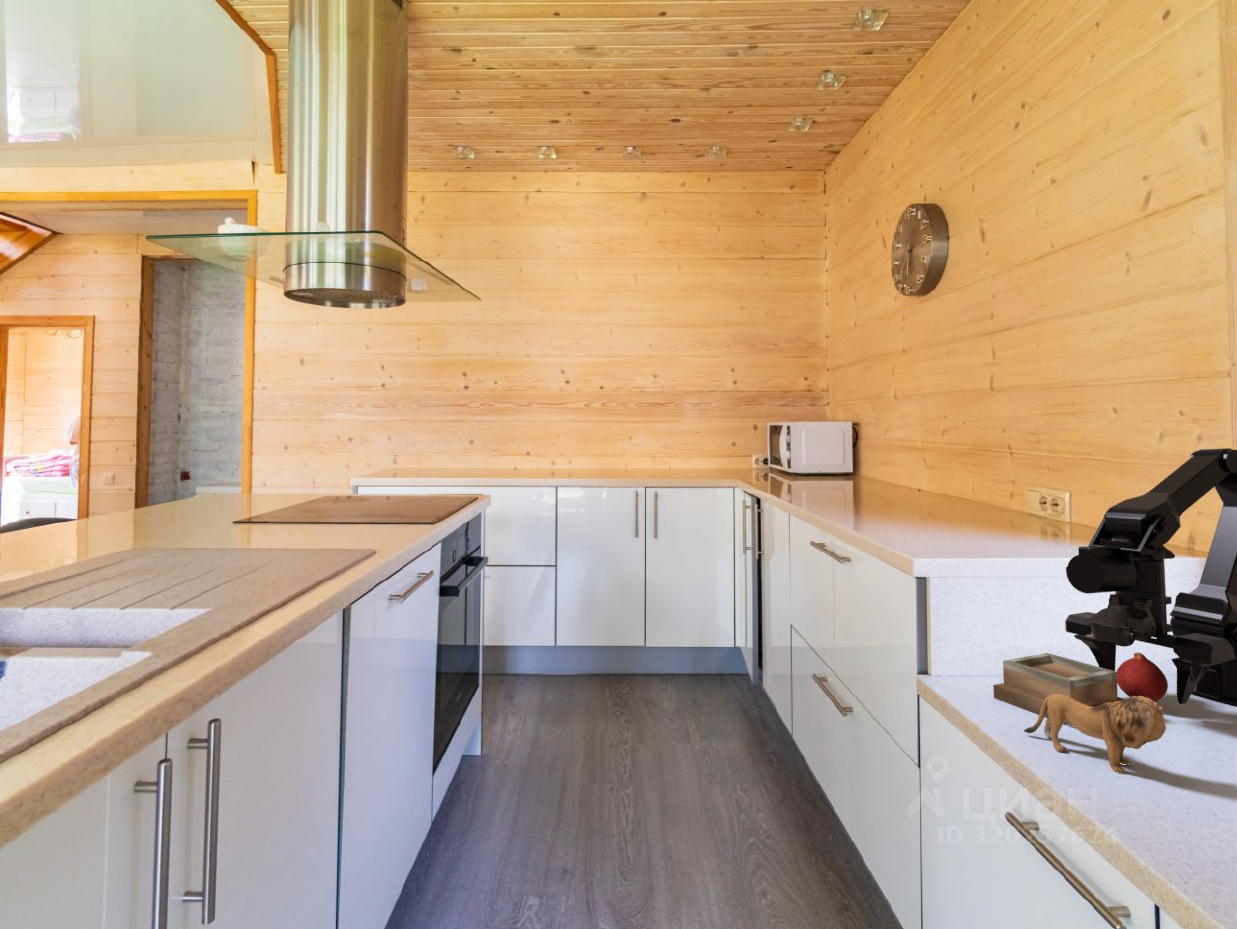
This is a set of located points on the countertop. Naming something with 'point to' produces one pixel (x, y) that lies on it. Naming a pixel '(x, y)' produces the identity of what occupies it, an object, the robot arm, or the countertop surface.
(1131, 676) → the onion
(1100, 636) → the robot arm
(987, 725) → the countertop surface
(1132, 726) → the lion figurine
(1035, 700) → the wooden tray on base
